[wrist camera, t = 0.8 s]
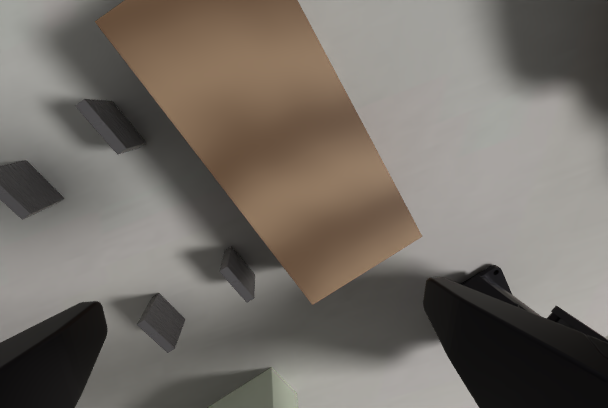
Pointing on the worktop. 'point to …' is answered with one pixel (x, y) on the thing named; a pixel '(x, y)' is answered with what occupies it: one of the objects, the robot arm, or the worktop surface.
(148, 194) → the worktop surface
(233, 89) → the cabinet
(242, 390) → the rectangular block
